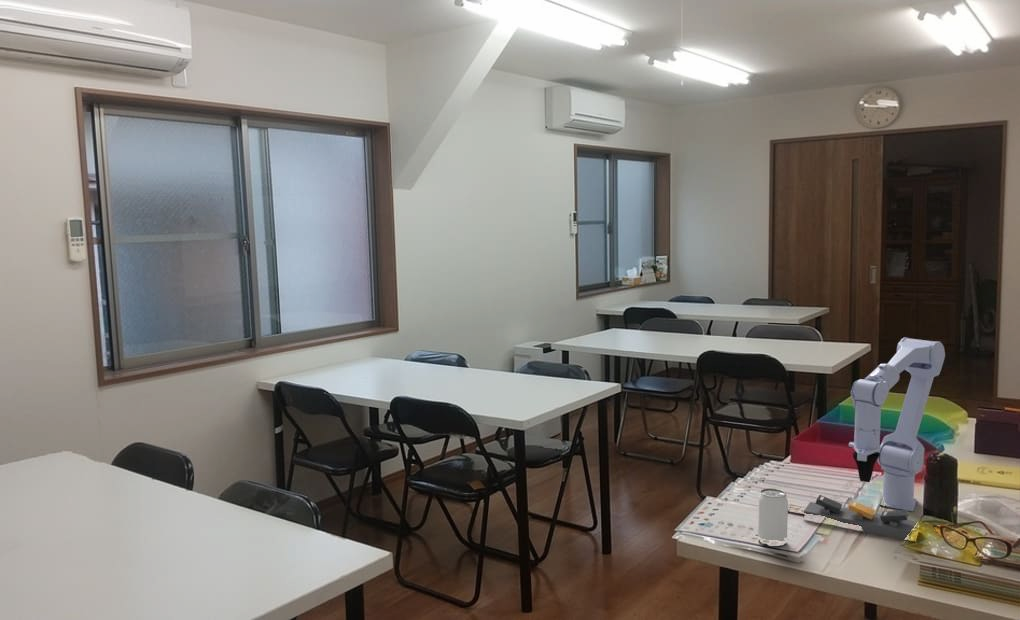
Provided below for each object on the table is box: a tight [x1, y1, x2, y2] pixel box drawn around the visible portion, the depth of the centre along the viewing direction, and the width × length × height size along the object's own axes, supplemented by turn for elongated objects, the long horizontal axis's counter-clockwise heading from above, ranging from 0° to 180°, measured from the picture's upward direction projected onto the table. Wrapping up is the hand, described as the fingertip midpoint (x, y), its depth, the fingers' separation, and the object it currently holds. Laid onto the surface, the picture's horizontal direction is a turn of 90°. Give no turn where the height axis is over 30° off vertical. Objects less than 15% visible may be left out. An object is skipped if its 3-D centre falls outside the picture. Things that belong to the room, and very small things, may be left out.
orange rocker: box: [847, 500, 876, 520], centre depth 183 cm, size 4×6×2 cm, turn 56°
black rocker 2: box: [880, 510, 909, 522], centre depth 179 cm, size 4×6×2 cm, turn 56°
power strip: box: [803, 501, 918, 541], centre depth 185 cm, size 7×30×4 cm, turn 56°
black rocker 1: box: [814, 494, 843, 513], centre depth 187 cm, size 4×6×2 cm, turn 56°
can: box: [757, 488, 789, 540], centre depth 175 cm, size 6×6×12 cm
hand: (865, 481), depth 186 cm, fingers closed
